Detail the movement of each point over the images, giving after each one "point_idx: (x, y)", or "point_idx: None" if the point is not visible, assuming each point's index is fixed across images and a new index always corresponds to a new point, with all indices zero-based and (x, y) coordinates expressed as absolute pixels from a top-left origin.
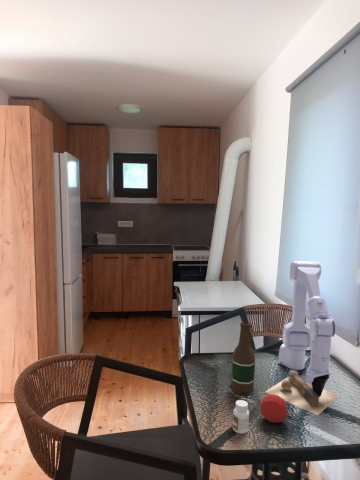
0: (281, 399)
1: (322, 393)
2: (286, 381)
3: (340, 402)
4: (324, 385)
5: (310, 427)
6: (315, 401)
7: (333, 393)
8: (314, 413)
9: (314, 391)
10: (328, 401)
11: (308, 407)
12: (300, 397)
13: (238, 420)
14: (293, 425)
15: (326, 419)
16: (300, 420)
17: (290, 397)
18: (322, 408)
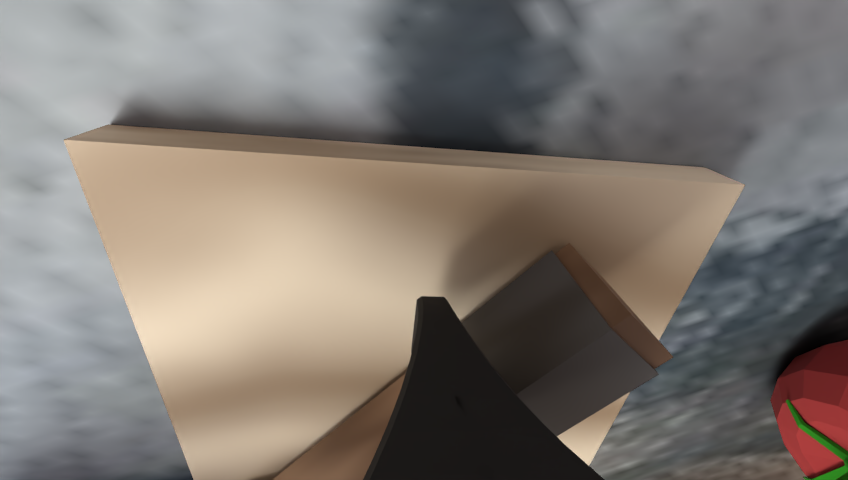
0: None
1: (242, 300)
2: None
3: (157, 90)
4: (399, 407)
5: (843, 170)
6: (615, 293)
7: (107, 217)
8: (722, 218)
9: (526, 391)
10: (368, 197)
11: (629, 291)
12: None
13: None
14: (840, 269)
15: (654, 102)
16: (756, 260)
17: None
18: (580, 194)
